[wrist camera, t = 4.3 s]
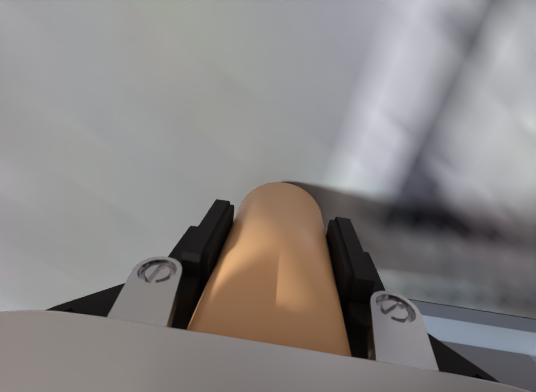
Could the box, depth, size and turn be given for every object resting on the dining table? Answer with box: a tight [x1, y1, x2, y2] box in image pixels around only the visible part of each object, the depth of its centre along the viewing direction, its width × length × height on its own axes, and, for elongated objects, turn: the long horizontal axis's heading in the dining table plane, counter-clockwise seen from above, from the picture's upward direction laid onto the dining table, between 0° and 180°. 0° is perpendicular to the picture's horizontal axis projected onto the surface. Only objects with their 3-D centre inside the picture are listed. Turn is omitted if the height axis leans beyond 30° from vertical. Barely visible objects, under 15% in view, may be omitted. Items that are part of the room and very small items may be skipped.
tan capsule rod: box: [187, 182, 352, 357], centre depth 9 cm, size 4×4×9 cm
